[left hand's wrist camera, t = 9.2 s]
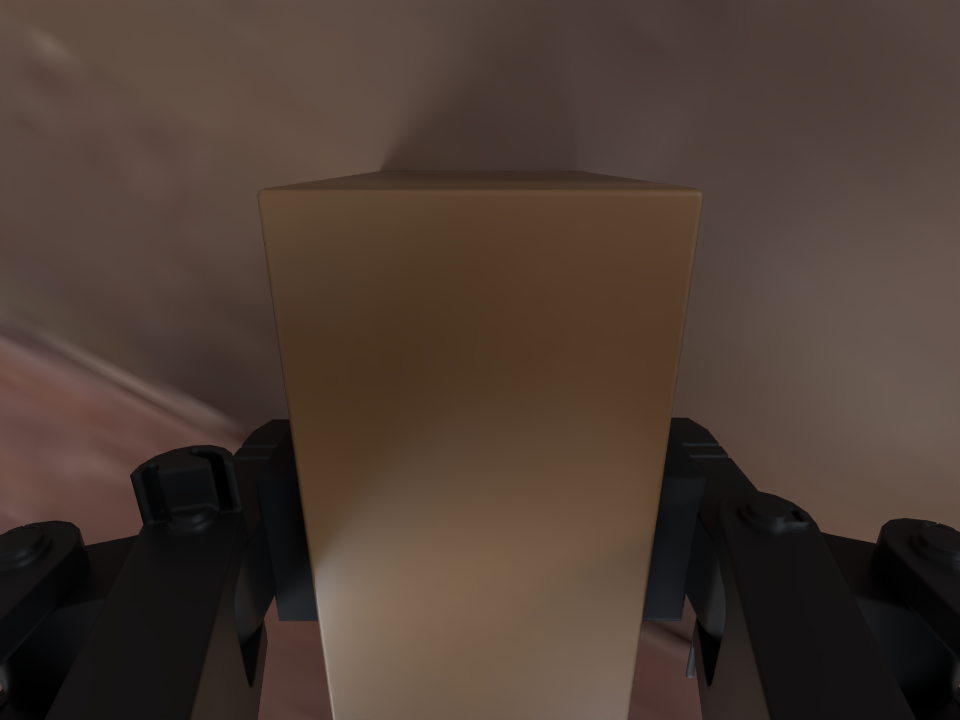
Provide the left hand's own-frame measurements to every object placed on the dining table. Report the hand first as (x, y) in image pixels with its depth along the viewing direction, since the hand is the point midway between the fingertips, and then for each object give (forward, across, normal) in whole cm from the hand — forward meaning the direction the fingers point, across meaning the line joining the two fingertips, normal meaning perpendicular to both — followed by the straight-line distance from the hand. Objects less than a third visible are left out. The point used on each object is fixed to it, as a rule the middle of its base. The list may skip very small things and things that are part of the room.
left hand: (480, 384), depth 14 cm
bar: (+1, 0, -25) cm, 25 cm away
